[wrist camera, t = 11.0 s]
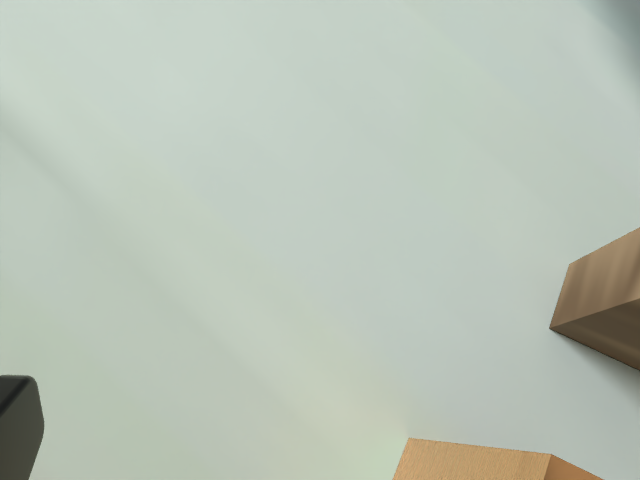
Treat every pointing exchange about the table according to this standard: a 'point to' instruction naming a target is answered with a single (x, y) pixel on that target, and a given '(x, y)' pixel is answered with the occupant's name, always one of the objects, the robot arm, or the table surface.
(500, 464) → the C-link
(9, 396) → the robot arm
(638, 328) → the walnut stand
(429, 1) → the table surface
